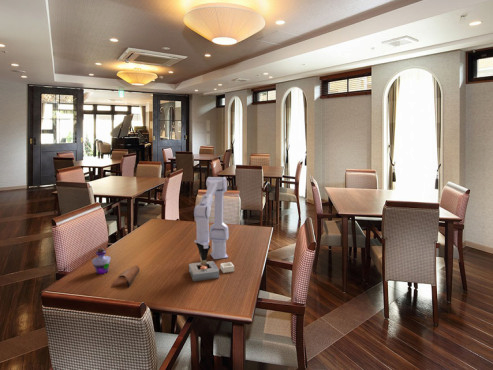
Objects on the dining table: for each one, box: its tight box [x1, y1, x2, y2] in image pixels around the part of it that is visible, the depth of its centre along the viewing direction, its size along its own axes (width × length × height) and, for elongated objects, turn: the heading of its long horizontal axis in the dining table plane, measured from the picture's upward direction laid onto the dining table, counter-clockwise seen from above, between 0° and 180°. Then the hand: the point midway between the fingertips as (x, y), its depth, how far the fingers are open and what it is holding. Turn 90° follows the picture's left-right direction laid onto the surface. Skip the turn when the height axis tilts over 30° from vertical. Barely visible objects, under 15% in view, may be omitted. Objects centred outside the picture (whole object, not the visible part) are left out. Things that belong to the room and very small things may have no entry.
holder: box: [219, 261, 235, 274], centre depth 165 cm, size 6×6×3 cm
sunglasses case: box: [110, 264, 141, 289], centre depth 155 cm, size 18×7×7 cm, turn 4°
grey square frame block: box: [188, 260, 220, 282], centre depth 160 cm, size 12×12×4 cm
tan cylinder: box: [199, 254, 208, 265], centre depth 159 cm, size 3×3×8 cm
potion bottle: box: [91, 247, 112, 275], centre depth 163 cm, size 9×9×12 cm
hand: (203, 258), depth 159 cm, fingers closed on tan cylinder, 3 cm apart
